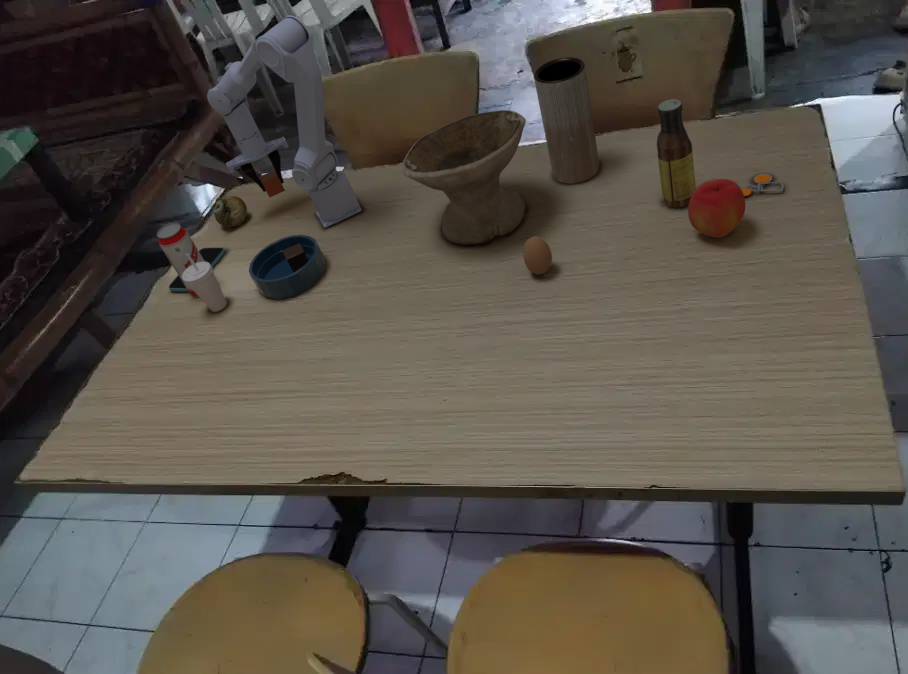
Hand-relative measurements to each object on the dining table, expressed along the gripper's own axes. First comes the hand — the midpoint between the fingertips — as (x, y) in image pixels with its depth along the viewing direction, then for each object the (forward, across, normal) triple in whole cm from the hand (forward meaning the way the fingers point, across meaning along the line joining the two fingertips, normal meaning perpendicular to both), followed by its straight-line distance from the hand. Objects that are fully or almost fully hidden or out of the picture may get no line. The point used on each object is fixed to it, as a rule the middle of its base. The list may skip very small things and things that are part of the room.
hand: (273, 185), depth 174 cm
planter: (+7, -59, +40) cm, 72 cm away
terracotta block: (+1, 0, 0) cm, 1 cm away
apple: (+8, -67, +77) cm, 102 cm away
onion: (+7, +12, -4) cm, 14 cm away
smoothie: (+7, +22, +27) cm, 35 cm away
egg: (+7, -37, +65) cm, 75 cm away
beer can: (+7, +24, +18) cm, 31 cm away
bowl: (+7, -36, +41) cm, 55 cm away
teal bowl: (+7, +5, +29) cm, 30 cm away
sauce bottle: (+7, -68, +64) cm, 93 cm away
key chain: (+7, -79, +70) cm, 106 cm away
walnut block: (+6, +3, +27) cm, 28 cm away
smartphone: (+7, +24, +10) cm, 27 cm away
